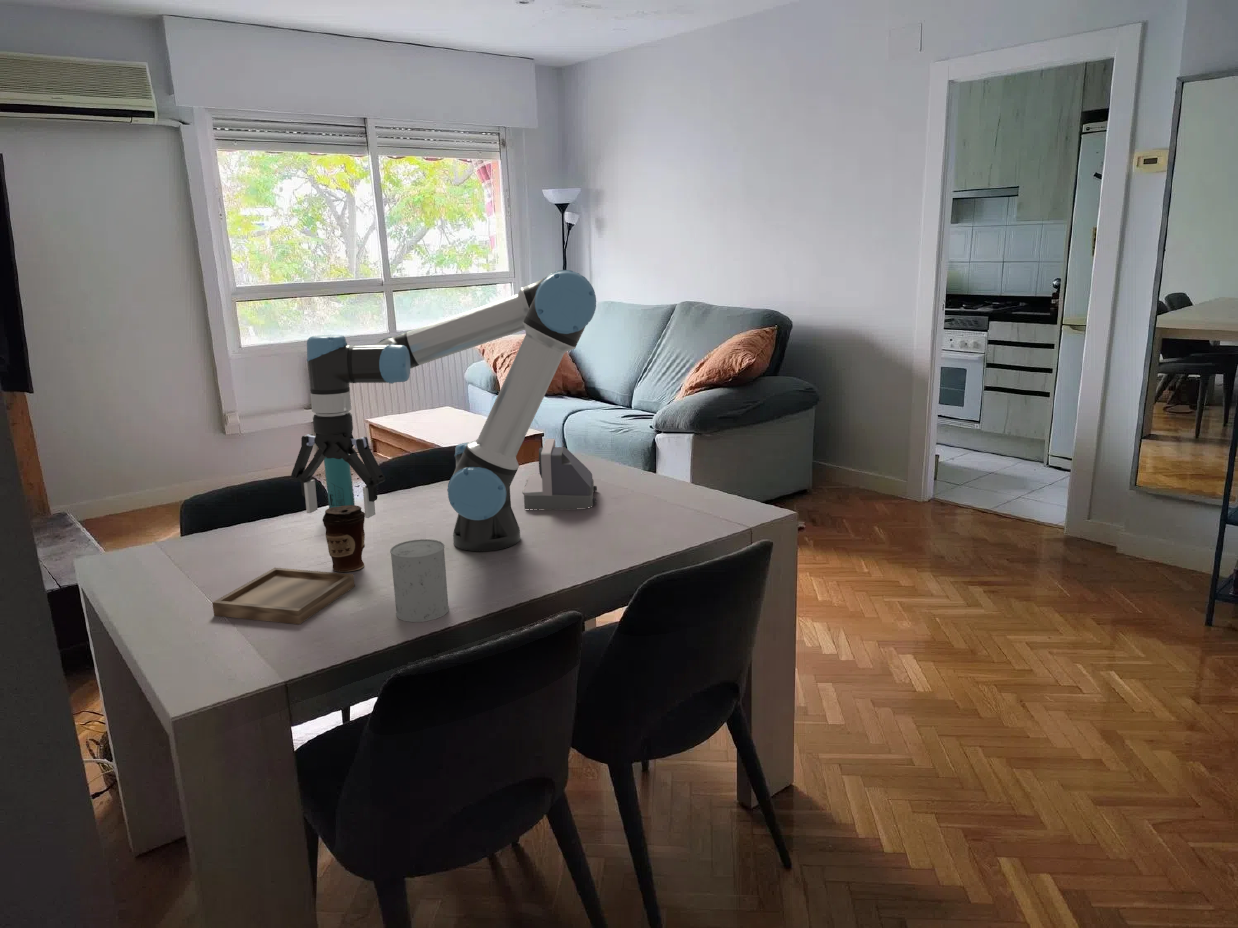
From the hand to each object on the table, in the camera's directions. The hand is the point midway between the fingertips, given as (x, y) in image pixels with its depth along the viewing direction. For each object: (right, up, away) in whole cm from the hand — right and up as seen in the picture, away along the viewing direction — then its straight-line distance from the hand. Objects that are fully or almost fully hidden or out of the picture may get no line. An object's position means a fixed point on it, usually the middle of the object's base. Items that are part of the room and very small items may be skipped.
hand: (341, 513), depth 174 cm
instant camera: (+42, +1, +50) cm, 65 cm away
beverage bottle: (-13, -3, +41) cm, 43 cm away
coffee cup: (+1, -12, +3) cm, 12 cm away
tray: (-6, -16, -13) cm, 22 cm away
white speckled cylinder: (+21, -17, -19) cm, 34 cm away
